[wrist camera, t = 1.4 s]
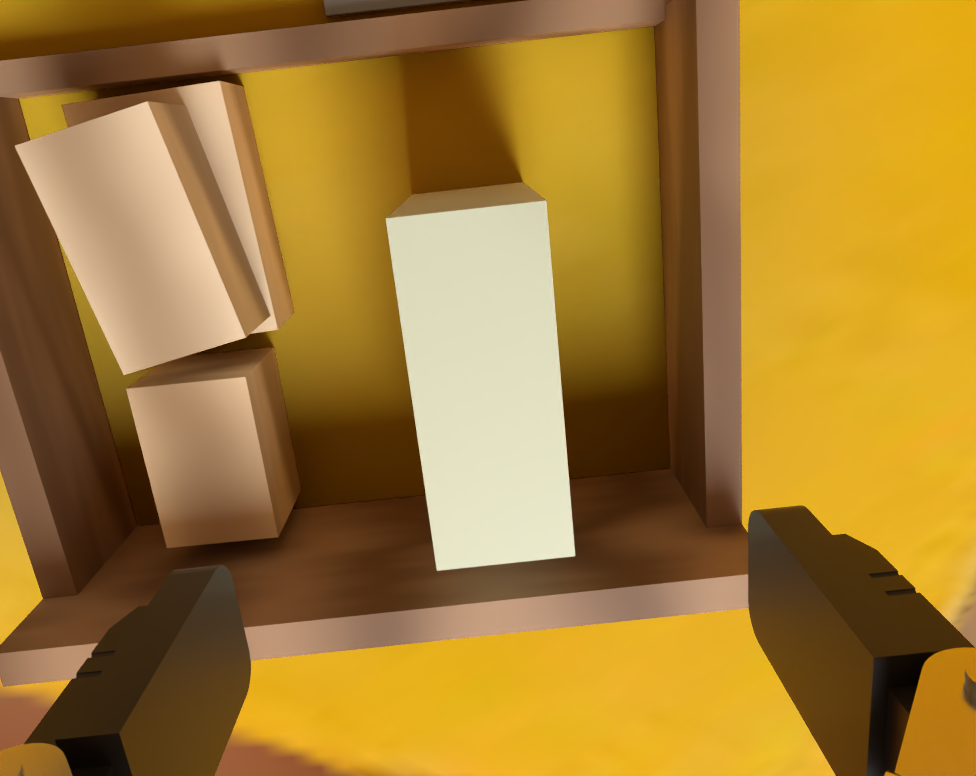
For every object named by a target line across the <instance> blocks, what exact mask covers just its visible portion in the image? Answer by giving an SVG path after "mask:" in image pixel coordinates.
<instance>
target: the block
mask: <svg viewBox="0 0 976 776" xmlns="http://www.w3.org/2000/svg"><path fill="white" fill-rule="evenodd" d="M386 225H387V232H388V239H389V246H390V253H391V259H392V266H393V273H394V280H395V287H396V294H397V301H398V307H399V314H400V321H401V328H402V335H403V342H404V349H405V356H406V362H407V369H408V376H409V383H410V390H411V397H412V404H413V410H414V417H415V424H416V431H417V438H418V445H419V452H420V458H421V465H422V472H423V479H424V486H425V493H426V500H427V506H428V513H429V520H430V527H431V534H432V541H433V548H434V554H435V561H436V568H437V571H440V570H450V569H459V568H468V567H478V566H487V565H497V564H506V563H516V562H525V561H535V560H544V559H554V558H563V557H573V556H575V546H574V534H573V522H572V509H571V497H570V485H569V473H568V460H567V448H566V436H565V423H564V411H563V399H562V387H561V374H560V362H559V350H558V337H557V325H556V313H555V300H554V288H553V276H552V264H551V251H550V239H549V227H548V214H547V202H546V200H545V199H544V198H543V197H541V196H540V195H539V194H537V193H536V192H535V191H534V190H532V189H531V188H530V187H529V186H527V185H526V184H525V183H524V182H518V183H509V184H500V185H491V186H482V187H473V188H464V189H455V190H446V191H437V192H429V193H420V194H412V195H411V196H410V197H409V198H407V199H406V200H405V201H404V202H403V203H402V204H401V205H400V206H399V207H398V208H396V209H395V210H394V211H393V212H392V213H391V214H390V215H389V216H388V217H387V218H386Z"/></svg>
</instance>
